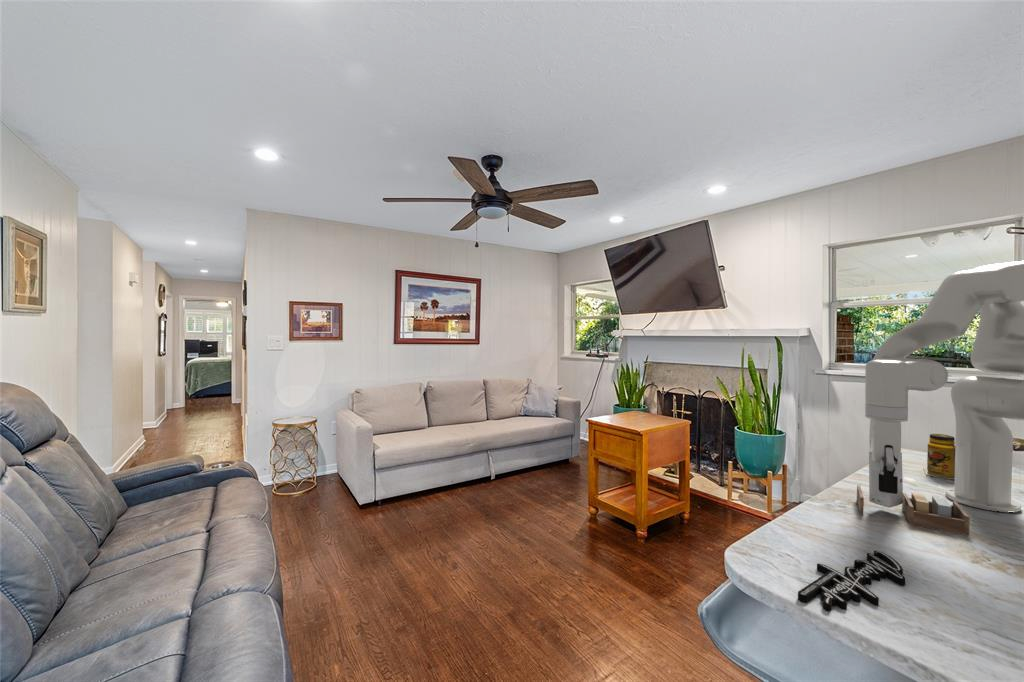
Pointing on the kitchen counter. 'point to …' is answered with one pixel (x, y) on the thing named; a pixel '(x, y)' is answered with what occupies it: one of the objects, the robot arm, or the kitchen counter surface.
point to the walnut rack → (929, 516)
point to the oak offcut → (920, 503)
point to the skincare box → (874, 492)
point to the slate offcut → (940, 507)
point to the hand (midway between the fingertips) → (885, 486)
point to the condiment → (941, 456)
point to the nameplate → (852, 581)
